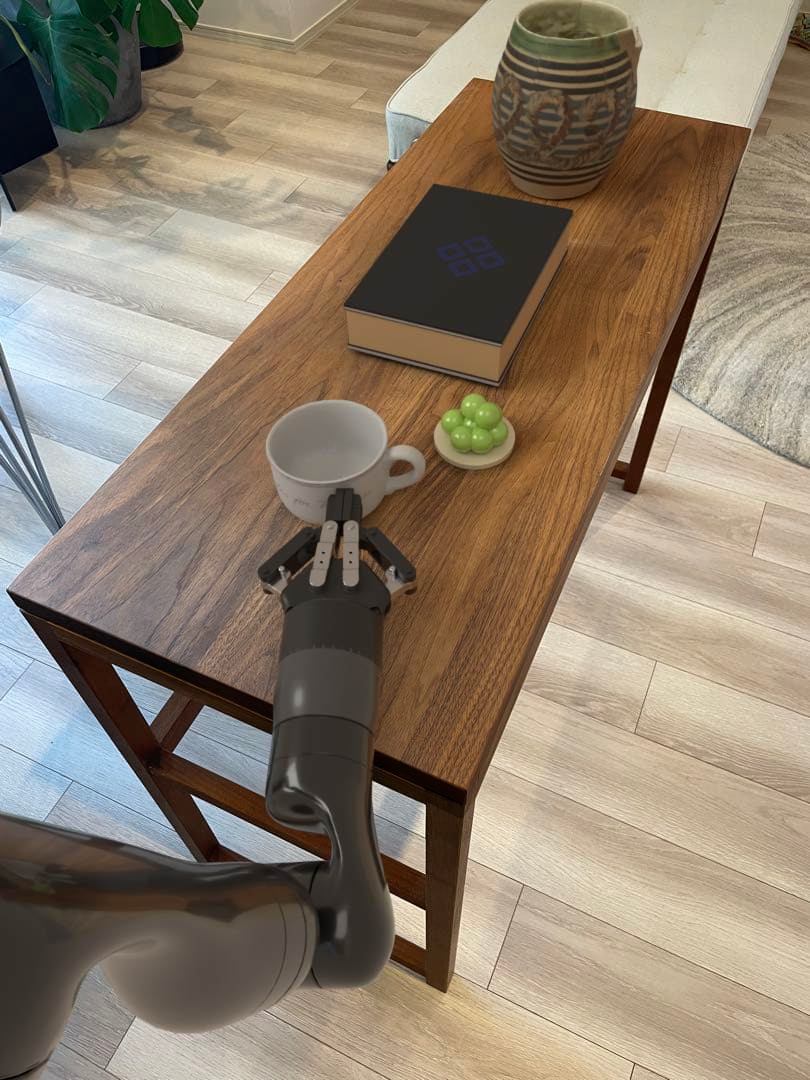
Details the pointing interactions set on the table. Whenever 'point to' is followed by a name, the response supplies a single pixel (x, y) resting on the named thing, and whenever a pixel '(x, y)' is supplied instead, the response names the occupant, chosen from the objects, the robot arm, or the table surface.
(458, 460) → the grapes
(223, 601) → the table surface
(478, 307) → the book
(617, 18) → the pottery
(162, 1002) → the robot arm
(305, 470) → the teacup
